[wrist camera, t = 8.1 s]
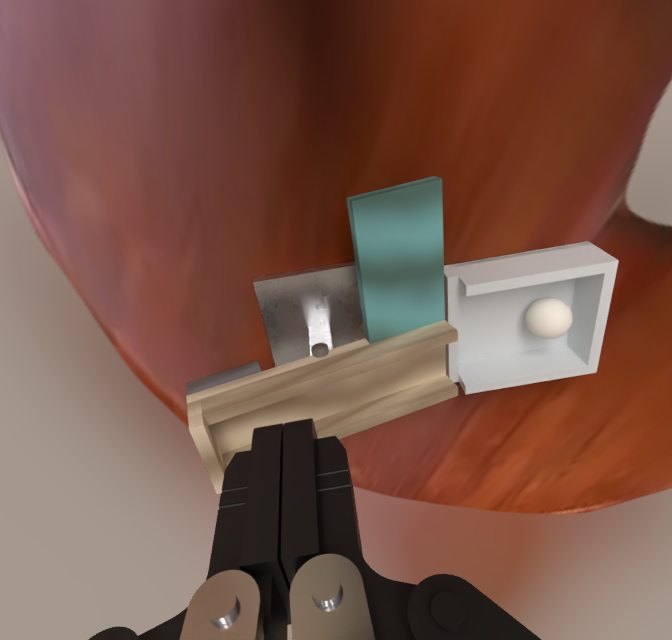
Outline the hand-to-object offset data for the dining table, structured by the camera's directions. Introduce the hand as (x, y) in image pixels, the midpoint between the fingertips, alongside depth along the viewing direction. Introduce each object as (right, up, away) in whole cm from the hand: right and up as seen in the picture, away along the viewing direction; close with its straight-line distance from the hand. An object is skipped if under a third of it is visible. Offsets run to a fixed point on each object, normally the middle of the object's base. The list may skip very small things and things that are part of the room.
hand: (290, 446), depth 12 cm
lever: (-1, +4, +26) cm, 26 cm away
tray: (+19, +4, +33) cm, 38 cm away
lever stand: (0, +1, +33) cm, 33 cm away
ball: (+21, +3, +31) cm, 38 cm away
